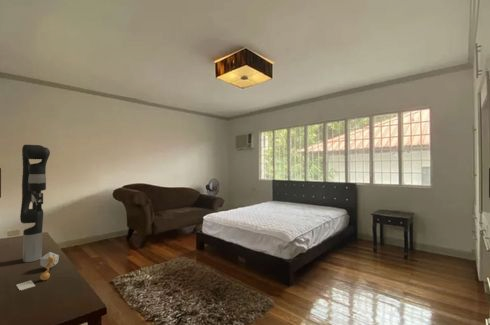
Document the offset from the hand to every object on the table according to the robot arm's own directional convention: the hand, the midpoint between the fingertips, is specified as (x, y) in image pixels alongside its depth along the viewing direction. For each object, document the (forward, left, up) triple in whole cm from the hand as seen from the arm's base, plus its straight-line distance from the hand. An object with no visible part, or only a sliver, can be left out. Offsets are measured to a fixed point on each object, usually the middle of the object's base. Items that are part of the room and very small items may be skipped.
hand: (36, 210), depth 133 cm
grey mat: (+12, -6, -36) cm, 38 cm away
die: (-4, +7, -36) cm, 37 cm away
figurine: (+12, +3, -36) cm, 38 cm away
